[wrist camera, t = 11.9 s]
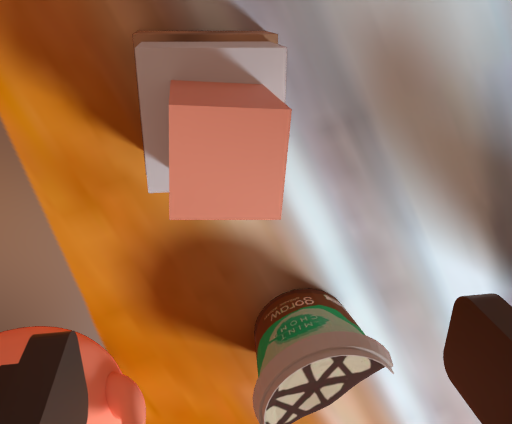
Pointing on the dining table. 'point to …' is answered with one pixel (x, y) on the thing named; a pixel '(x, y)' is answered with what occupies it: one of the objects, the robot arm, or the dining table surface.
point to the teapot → (88, 377)
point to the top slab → (196, 69)
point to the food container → (309, 355)
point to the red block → (226, 151)
